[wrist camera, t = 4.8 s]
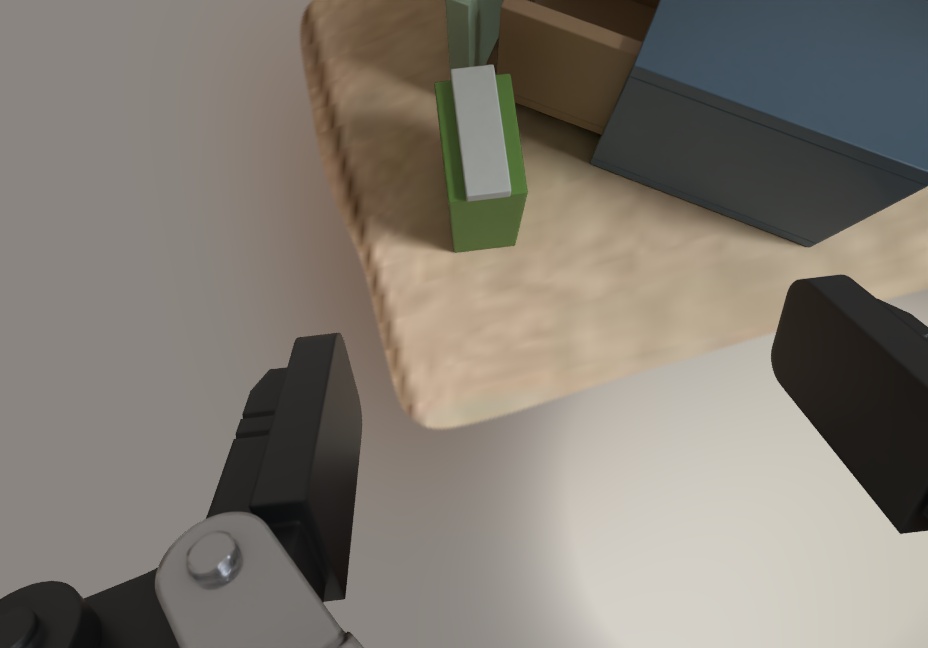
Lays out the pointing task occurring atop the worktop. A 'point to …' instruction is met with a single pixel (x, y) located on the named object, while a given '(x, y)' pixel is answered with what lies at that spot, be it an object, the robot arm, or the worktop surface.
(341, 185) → the worktop surface
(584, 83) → the drawer
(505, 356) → the worktop surface
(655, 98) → the cabinet
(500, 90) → the green white block
